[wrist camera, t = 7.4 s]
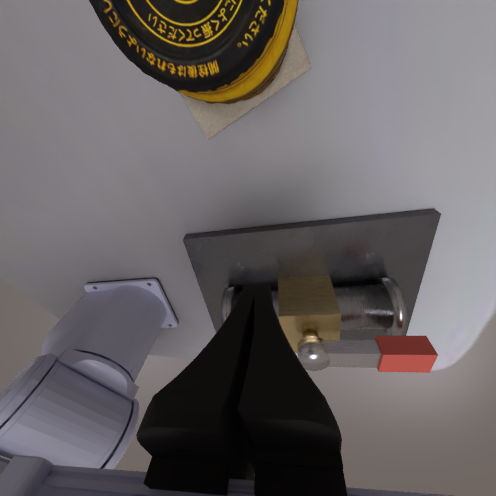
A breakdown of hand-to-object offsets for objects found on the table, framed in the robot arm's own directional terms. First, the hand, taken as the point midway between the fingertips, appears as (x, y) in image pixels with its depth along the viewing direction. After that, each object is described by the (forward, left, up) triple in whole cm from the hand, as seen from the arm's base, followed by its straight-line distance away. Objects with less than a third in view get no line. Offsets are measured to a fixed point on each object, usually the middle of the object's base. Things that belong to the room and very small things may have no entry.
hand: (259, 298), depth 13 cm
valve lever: (+7, -9, -3) cm, 12 cm away
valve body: (+3, -9, -10) cm, 14 cm away
